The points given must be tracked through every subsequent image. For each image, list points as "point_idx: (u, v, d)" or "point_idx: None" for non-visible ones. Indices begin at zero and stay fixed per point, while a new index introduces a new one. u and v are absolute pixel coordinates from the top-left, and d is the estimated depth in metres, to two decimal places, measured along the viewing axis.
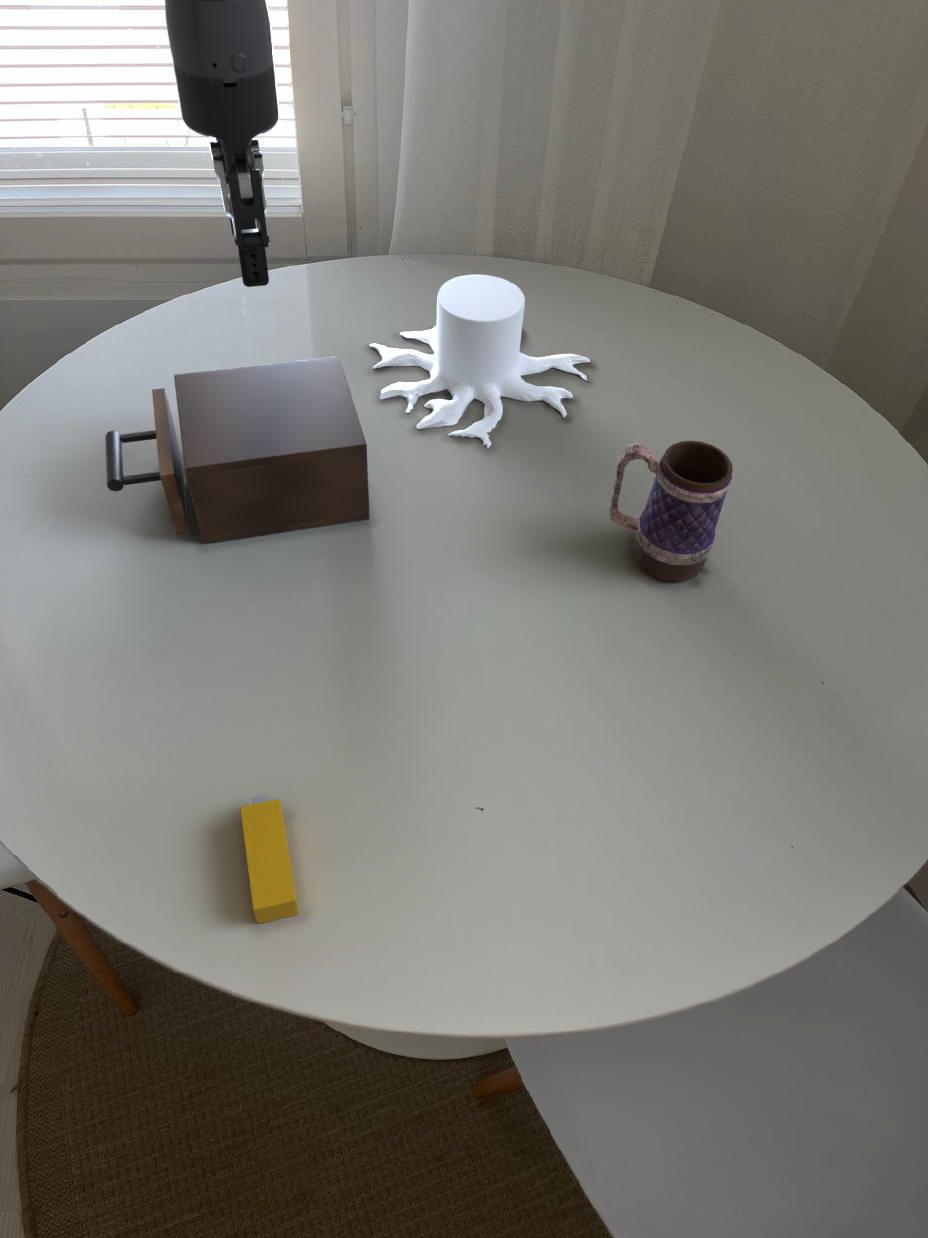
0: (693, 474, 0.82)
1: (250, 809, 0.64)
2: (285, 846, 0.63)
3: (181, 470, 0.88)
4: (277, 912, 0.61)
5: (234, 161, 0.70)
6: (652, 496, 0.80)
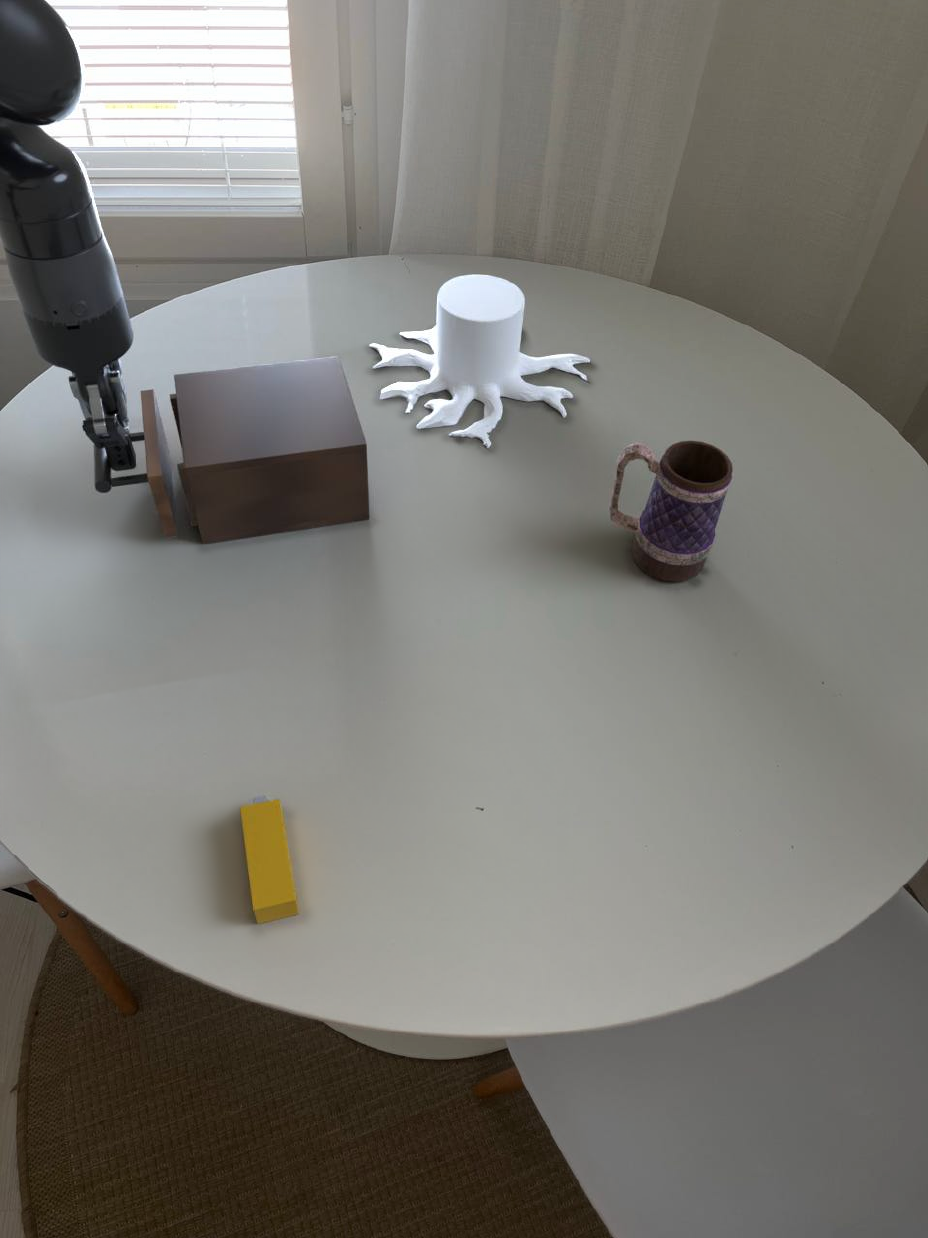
0: (693, 474, 0.82)
1: (250, 809, 0.64)
2: (285, 846, 0.63)
3: (170, 471, 0.88)
4: (277, 912, 0.61)
5: (89, 397, 0.73)
6: (652, 496, 0.80)
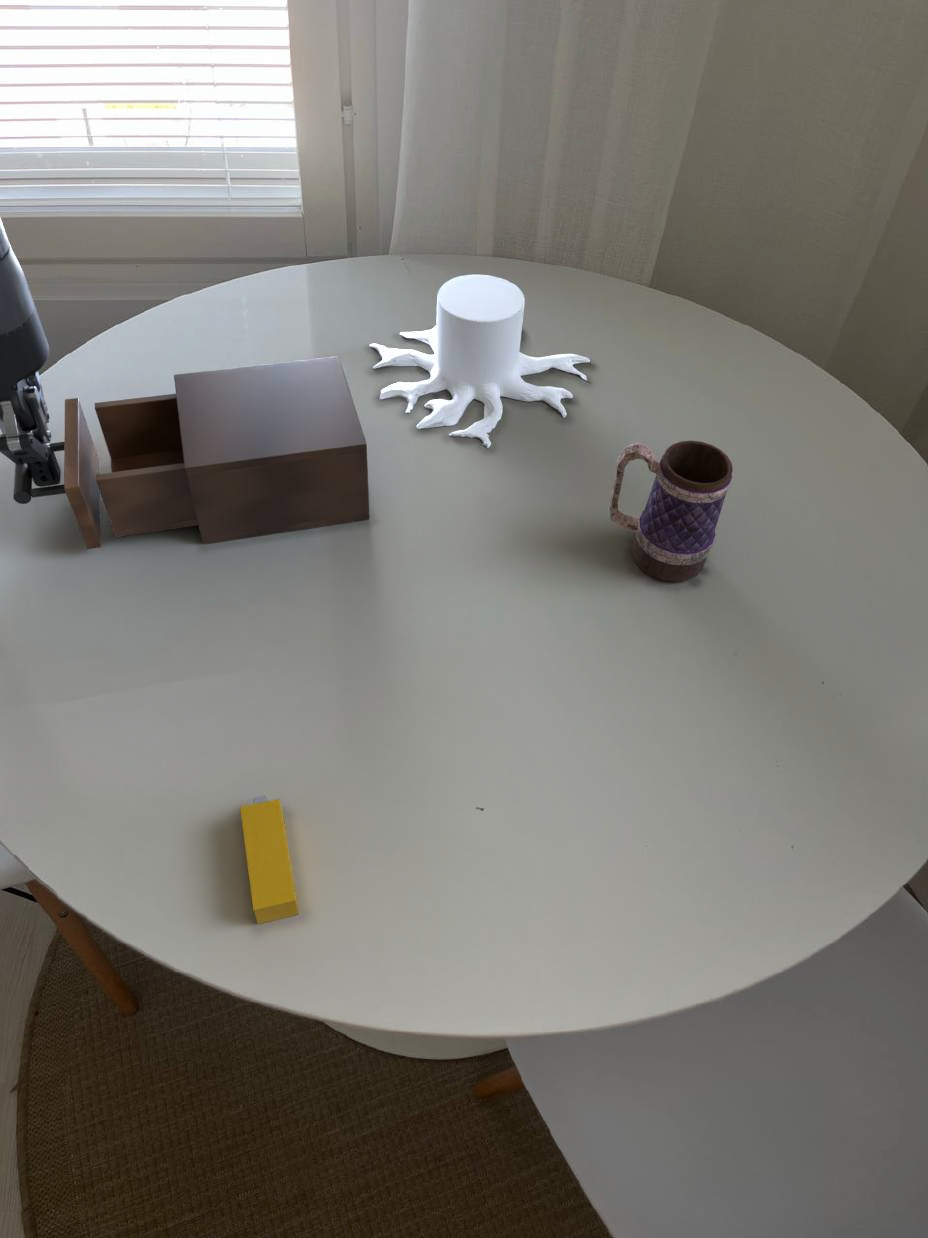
0: (693, 474, 0.82)
1: (250, 809, 0.64)
2: (285, 846, 0.63)
3: (97, 481, 0.86)
4: (277, 912, 0.61)
5: (2, 414, 0.72)
6: (652, 496, 0.80)
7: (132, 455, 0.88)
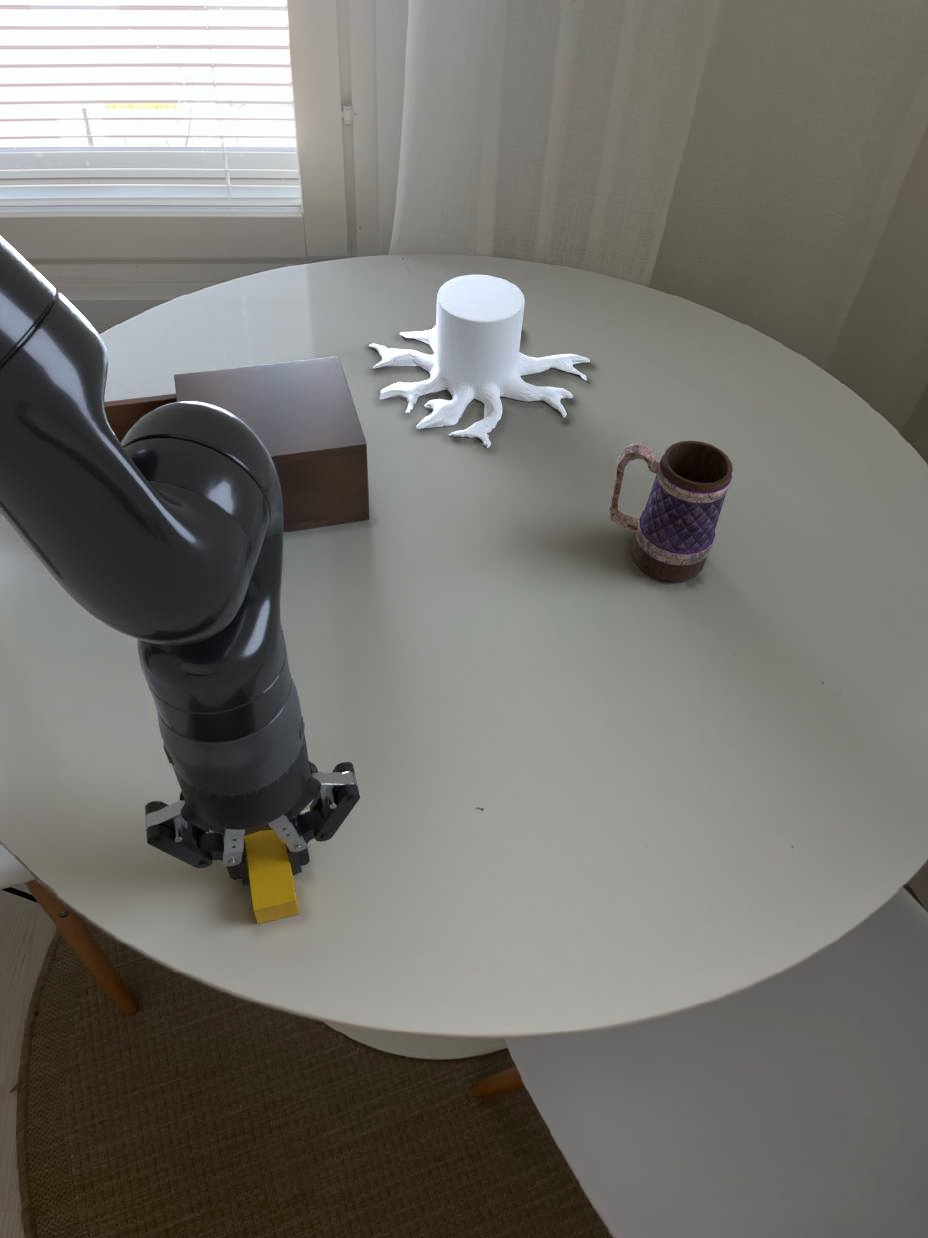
0: (693, 474, 0.82)
1: None
2: (285, 846, 0.63)
3: None
4: (278, 912, 0.61)
5: (181, 799, 0.55)
6: (652, 496, 0.80)
7: None
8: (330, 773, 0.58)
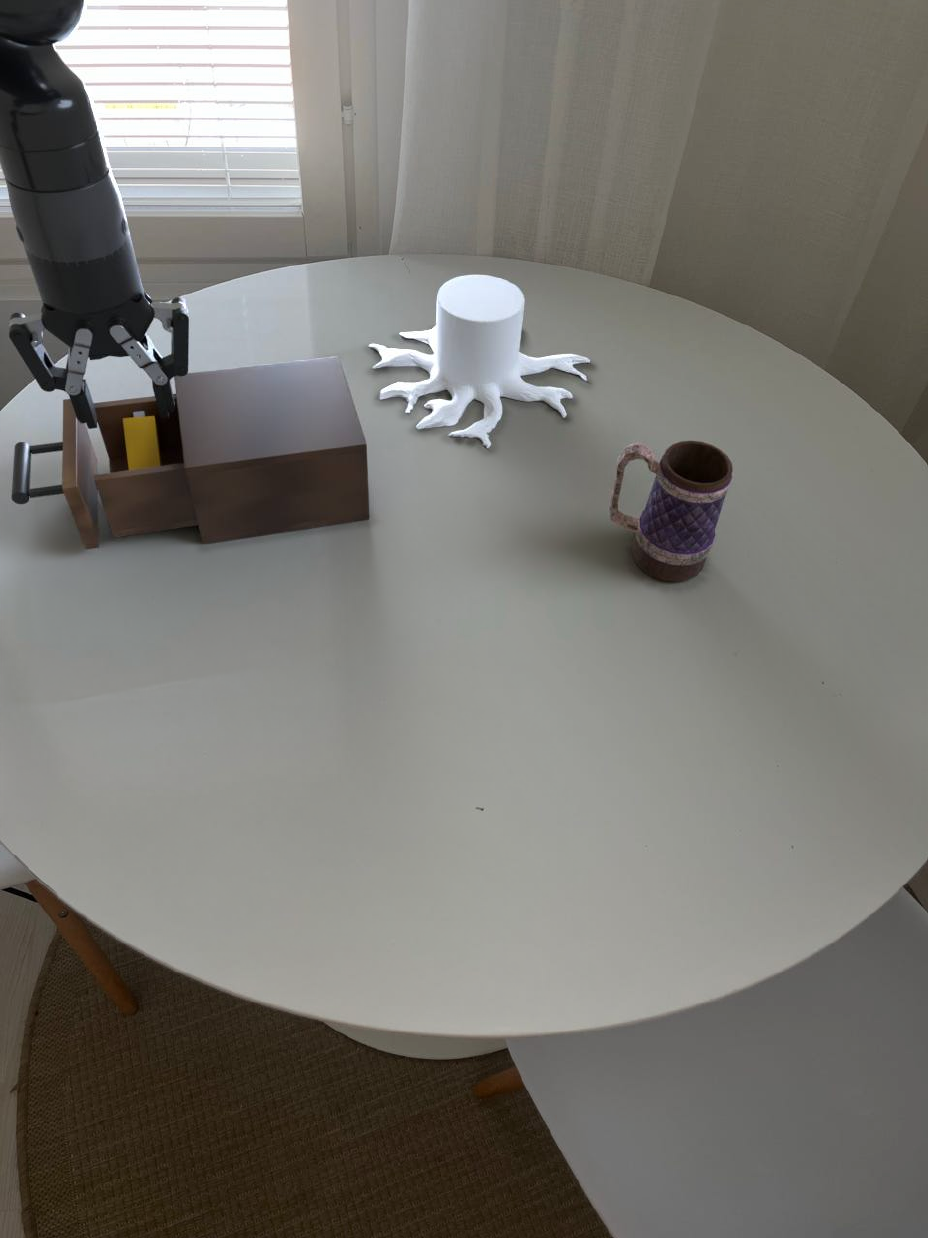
0: (693, 474, 0.82)
1: (130, 421, 0.83)
2: (157, 452, 0.83)
3: None
4: None
5: (43, 311, 0.71)
6: (652, 496, 0.80)
7: None
8: (163, 303, 0.73)
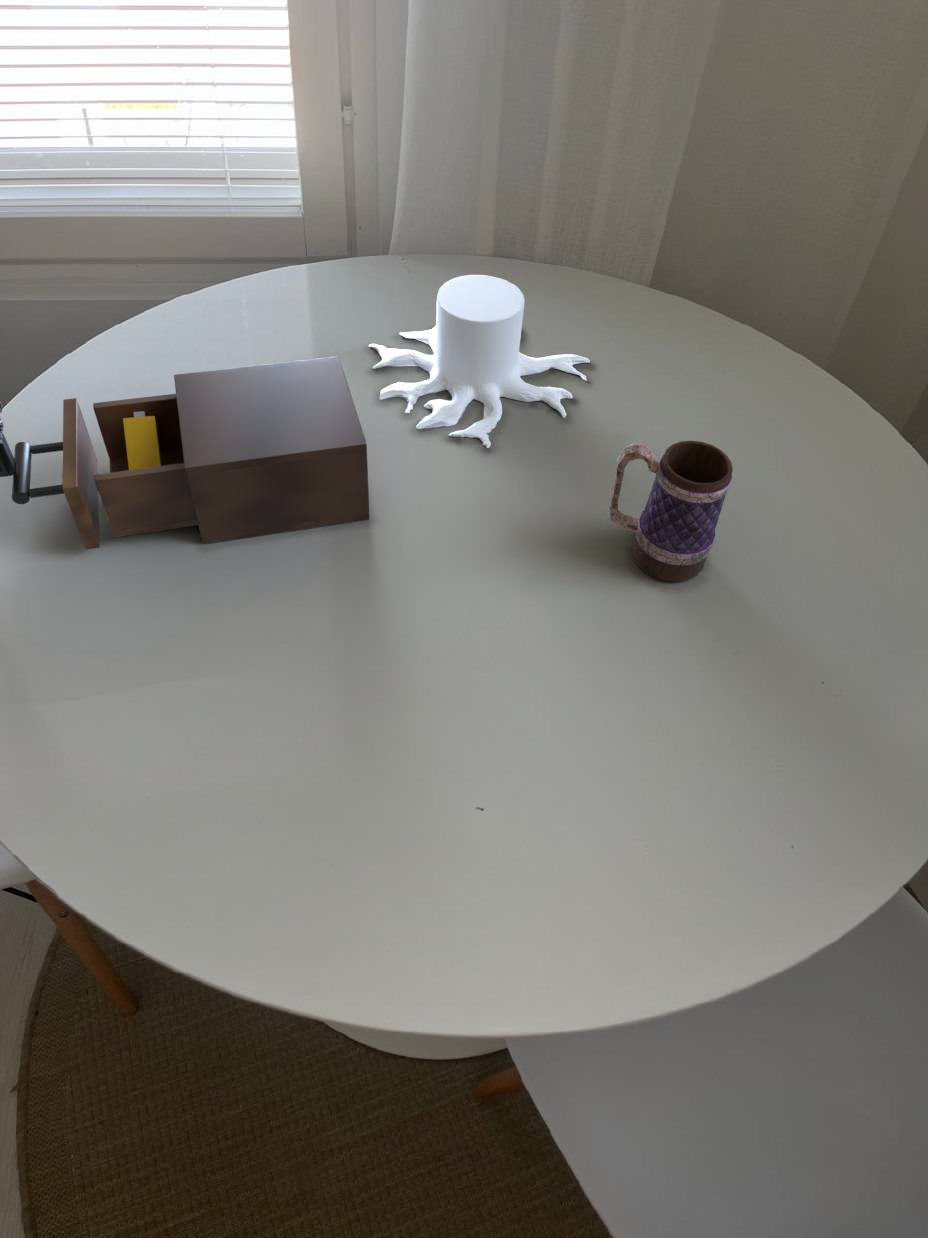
0: (693, 474, 0.82)
1: (131, 421, 0.83)
2: (157, 452, 0.83)
3: (96, 481, 0.86)
4: None
5: None
6: (652, 496, 0.80)
7: None
8: None
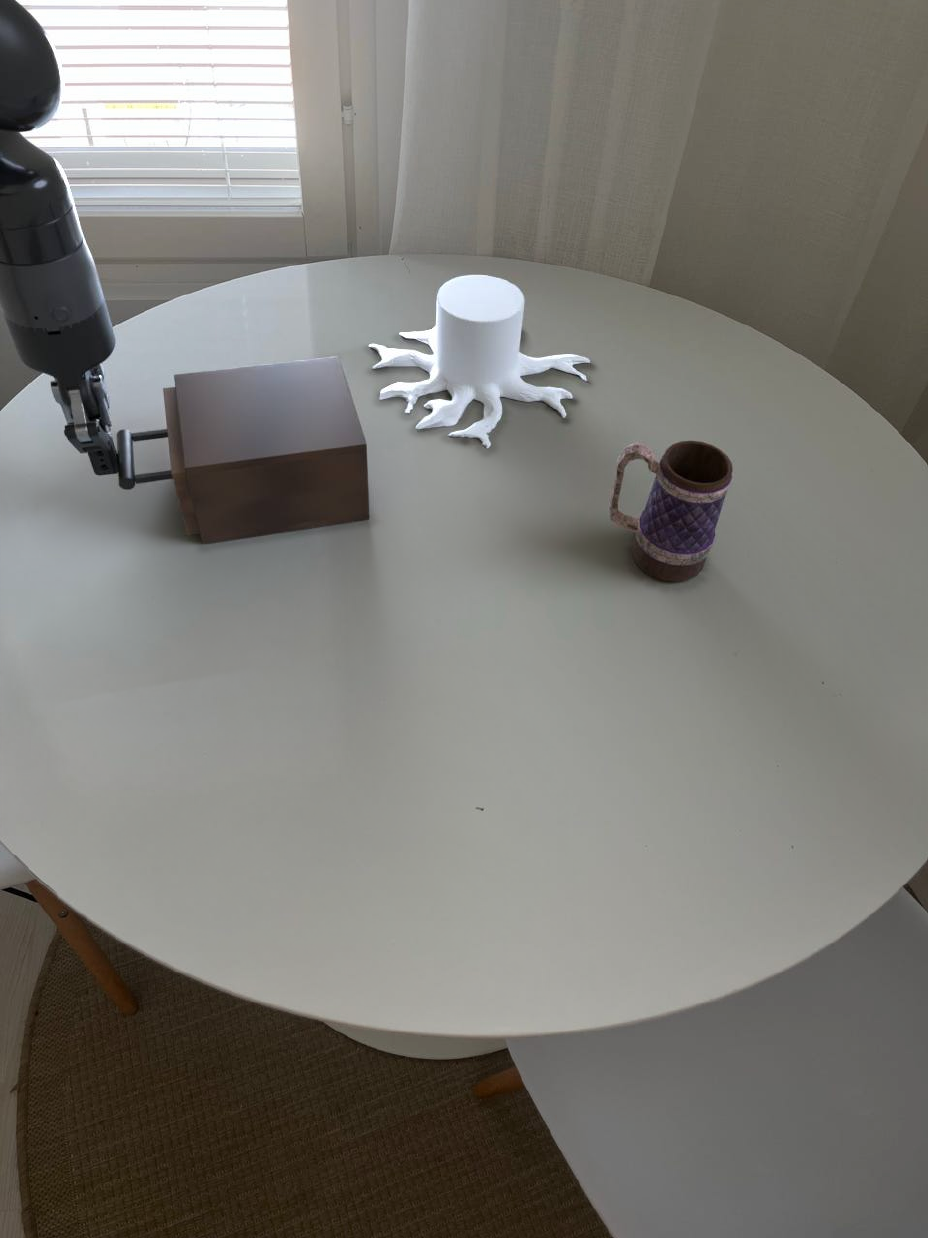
0: (693, 474, 0.82)
1: None
2: None
3: None
4: None
5: (70, 402, 0.73)
6: (652, 496, 0.80)
7: None
8: None
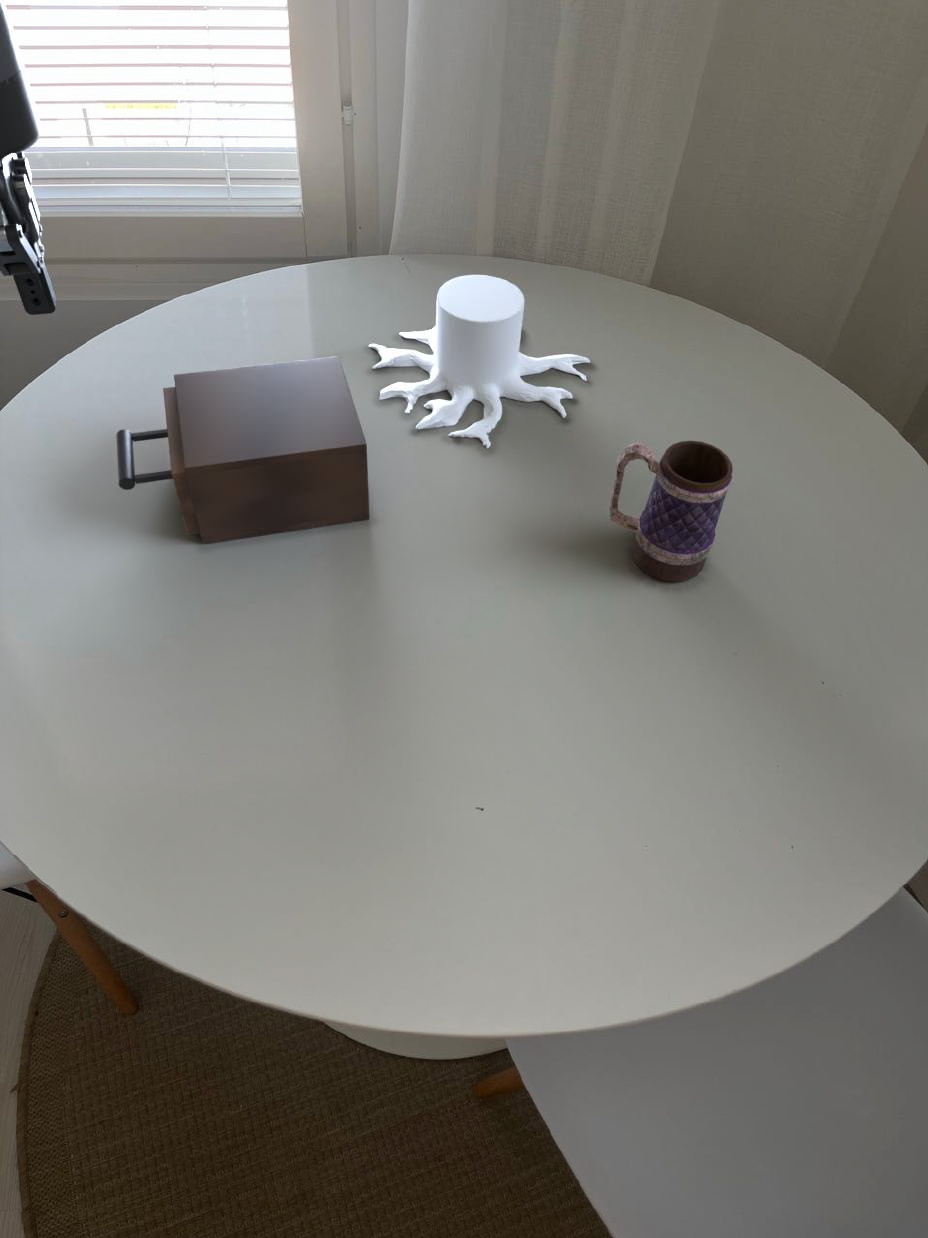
0: (693, 474, 0.82)
1: None
2: None
3: None
4: None
5: None
6: (652, 496, 0.80)
7: None
8: None
